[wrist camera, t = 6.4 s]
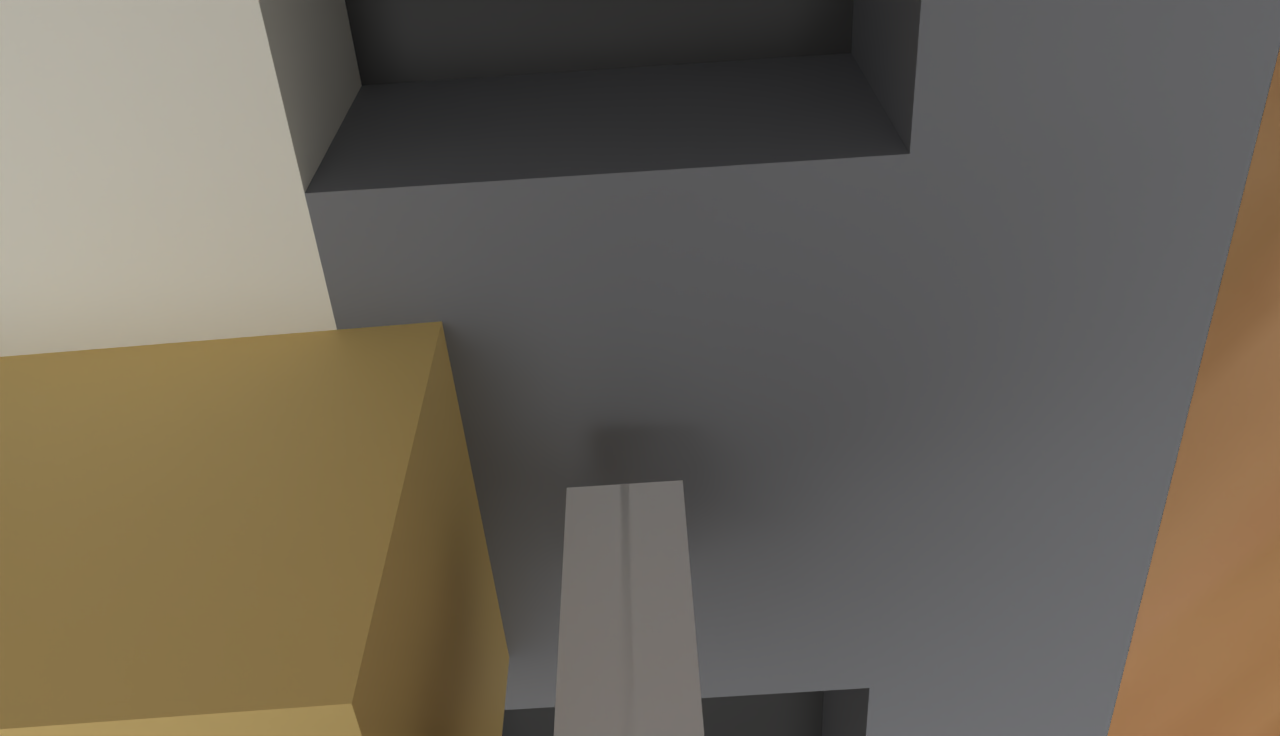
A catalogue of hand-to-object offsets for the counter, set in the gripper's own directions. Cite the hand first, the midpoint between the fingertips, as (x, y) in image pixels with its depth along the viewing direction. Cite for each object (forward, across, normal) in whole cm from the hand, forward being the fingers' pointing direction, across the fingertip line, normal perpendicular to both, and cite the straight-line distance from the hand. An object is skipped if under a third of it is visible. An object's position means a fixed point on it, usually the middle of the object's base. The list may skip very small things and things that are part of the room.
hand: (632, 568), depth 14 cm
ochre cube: (+2, -5, 0) cm, 5 cm away
